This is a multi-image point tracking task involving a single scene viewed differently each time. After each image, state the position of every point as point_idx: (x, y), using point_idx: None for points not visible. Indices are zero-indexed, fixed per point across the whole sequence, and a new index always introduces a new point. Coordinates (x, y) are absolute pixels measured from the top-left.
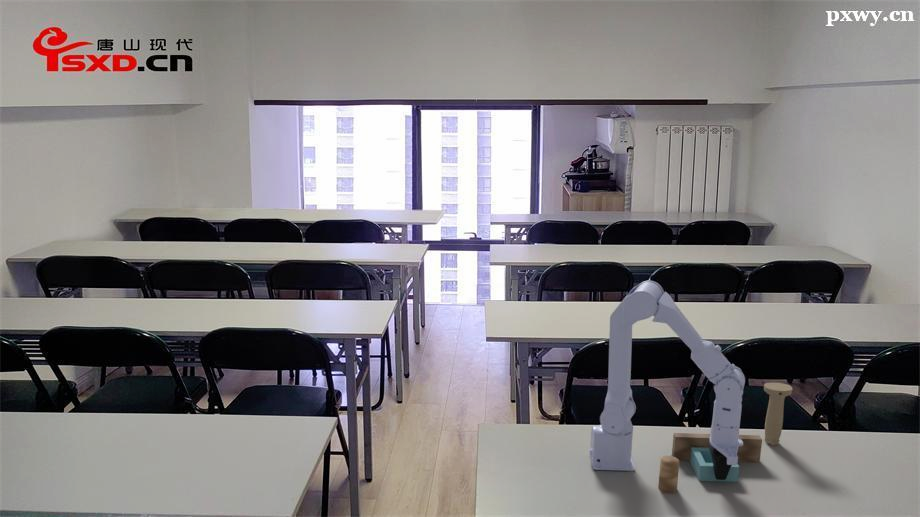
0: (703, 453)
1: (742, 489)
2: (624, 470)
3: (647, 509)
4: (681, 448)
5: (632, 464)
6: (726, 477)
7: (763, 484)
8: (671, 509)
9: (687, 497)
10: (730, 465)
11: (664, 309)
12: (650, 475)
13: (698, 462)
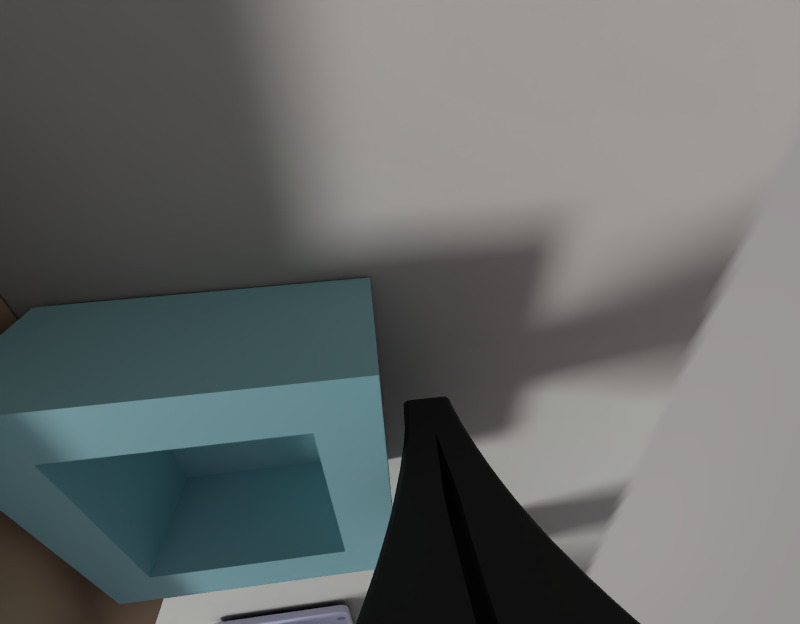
0: (146, 536)
1: (475, 257)
2: (351, 618)
3: (592, 562)
4: (138, 604)
5: (309, 618)
6: (450, 407)
7: (372, 17)
8: (610, 524)
9: (537, 492)
10: (533, 527)
11: None
12: (364, 573)
13: (346, 570)
